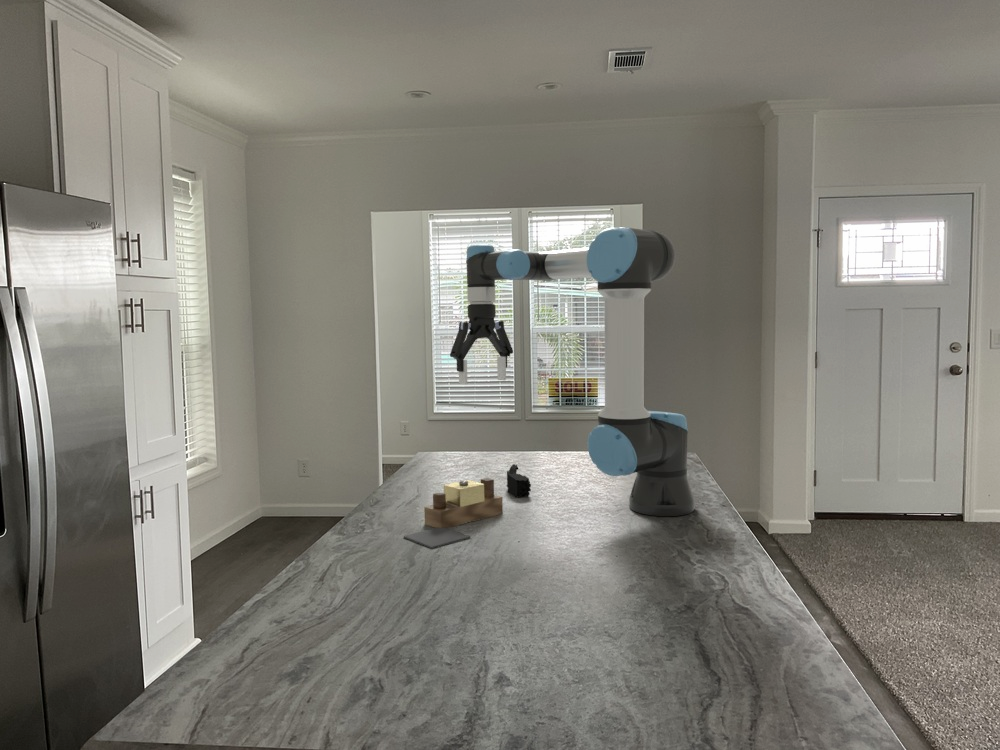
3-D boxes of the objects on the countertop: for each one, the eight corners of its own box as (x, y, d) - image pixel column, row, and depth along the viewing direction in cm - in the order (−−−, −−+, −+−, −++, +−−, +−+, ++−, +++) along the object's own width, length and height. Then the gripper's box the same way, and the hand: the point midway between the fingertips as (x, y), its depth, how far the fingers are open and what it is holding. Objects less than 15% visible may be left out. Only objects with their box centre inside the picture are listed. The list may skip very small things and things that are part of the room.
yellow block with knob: (467, 496, 174) (467, 477, 173) (484, 501, 169) (484, 481, 169) (444, 502, 169) (443, 482, 169) (460, 507, 165) (459, 486, 164)
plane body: (486, 508, 178) (485, 475, 177) (502, 513, 173) (502, 480, 172) (424, 524, 166) (423, 489, 165) (440, 529, 161) (440, 493, 161)
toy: (531, 498, 187) (531, 472, 186) (512, 499, 186) (512, 473, 186) (518, 485, 202) (518, 461, 202) (500, 486, 201) (500, 462, 201)
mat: (470, 538, 155) (470, 536, 155) (431, 548, 149) (431, 546, 149) (441, 527, 163) (441, 526, 163) (403, 537, 156) (403, 535, 156)
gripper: (506, 303, 210) (508, 377, 212) (435, 304, 194) (437, 384, 196) (524, 302, 204) (525, 379, 206) (453, 303, 188) (454, 386, 190)
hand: (482, 382), depth 201 cm, fingers open, 13 cm apart
